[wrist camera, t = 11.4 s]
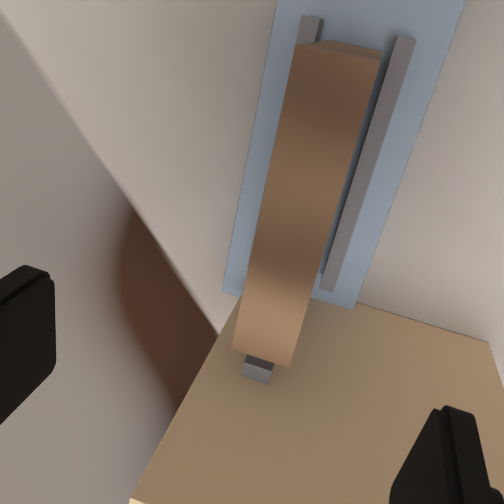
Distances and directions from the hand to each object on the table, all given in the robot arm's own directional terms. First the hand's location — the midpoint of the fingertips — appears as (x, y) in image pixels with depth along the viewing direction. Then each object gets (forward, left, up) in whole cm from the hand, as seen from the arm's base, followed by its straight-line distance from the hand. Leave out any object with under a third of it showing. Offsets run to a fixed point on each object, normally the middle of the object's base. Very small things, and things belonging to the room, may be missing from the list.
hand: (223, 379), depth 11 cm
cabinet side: (0, +5, -23) cm, 23 cm away
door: (0, 0, -21) cm, 21 cm away
